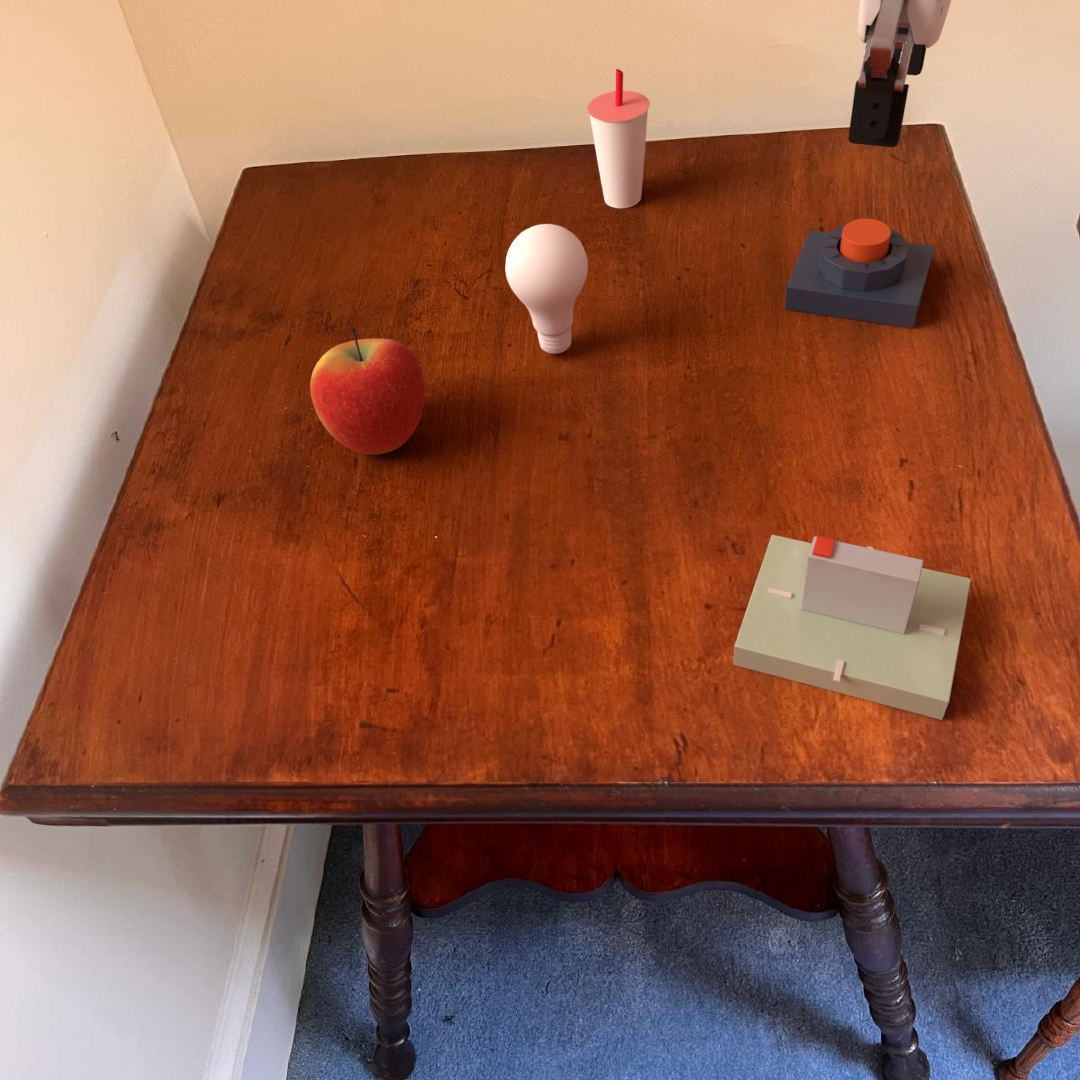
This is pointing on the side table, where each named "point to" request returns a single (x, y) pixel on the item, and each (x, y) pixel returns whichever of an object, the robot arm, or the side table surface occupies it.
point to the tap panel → (853, 638)
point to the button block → (859, 281)
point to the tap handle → (860, 584)
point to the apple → (369, 394)
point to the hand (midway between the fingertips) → (886, 106)
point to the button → (865, 240)
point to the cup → (620, 143)
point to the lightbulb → (548, 280)
